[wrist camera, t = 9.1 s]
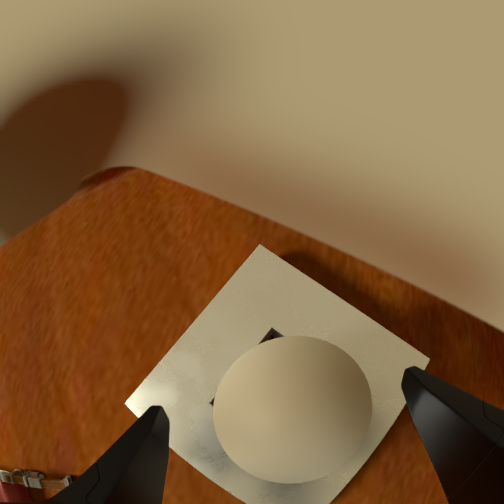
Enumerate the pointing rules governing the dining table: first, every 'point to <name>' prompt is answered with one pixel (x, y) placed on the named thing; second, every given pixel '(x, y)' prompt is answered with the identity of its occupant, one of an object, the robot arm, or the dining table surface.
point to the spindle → (292, 409)
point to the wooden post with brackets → (34, 479)
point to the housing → (254, 333)
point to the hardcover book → (14, 492)
